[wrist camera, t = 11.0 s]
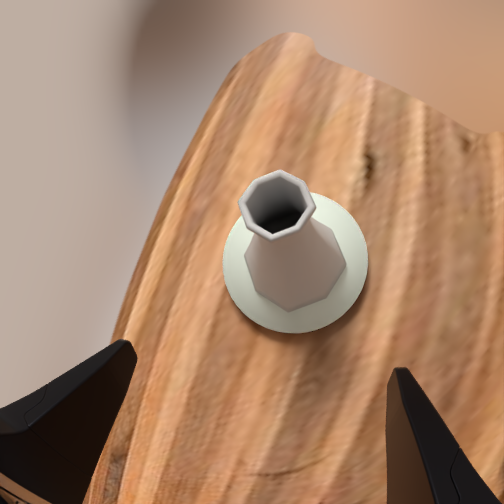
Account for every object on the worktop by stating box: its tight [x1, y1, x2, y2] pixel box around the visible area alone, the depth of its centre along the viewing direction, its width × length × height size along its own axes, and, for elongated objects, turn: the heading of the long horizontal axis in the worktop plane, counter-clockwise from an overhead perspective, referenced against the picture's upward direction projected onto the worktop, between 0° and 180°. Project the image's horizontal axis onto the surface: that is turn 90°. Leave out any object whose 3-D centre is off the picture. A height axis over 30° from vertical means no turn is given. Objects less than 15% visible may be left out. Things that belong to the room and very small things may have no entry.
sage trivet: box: [223, 192, 368, 333], centre depth 22 cm, size 11×11×1 cm
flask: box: [238, 170, 347, 312], centre depth 17 cm, size 7×7×10 cm
